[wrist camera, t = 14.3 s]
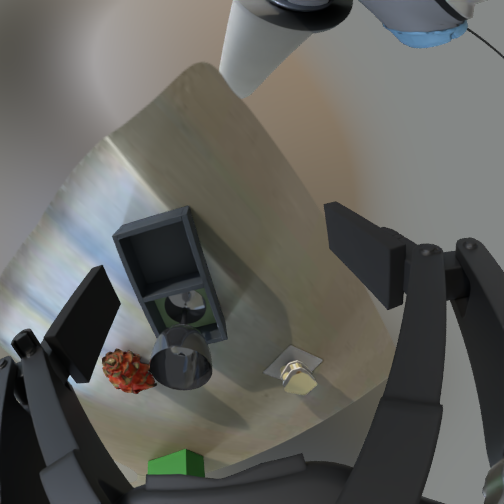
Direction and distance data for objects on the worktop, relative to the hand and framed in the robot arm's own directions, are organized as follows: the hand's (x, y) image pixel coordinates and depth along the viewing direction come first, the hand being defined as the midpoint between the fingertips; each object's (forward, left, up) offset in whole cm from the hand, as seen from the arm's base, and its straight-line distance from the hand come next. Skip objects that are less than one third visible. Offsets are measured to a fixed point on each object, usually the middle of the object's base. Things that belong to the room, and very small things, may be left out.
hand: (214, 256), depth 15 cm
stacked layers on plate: (-7, +40, -27) cm, 49 cm away
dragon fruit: (+24, +28, -27) cm, 46 cm away
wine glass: (+9, +18, -26) cm, 33 cm away
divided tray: (+9, +13, -27) cm, 31 cm away
